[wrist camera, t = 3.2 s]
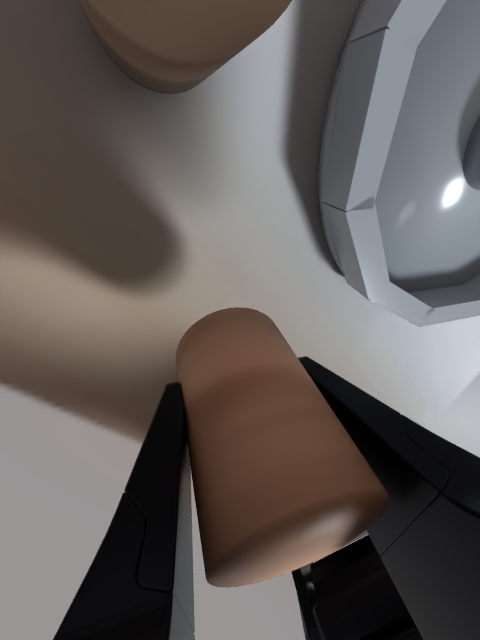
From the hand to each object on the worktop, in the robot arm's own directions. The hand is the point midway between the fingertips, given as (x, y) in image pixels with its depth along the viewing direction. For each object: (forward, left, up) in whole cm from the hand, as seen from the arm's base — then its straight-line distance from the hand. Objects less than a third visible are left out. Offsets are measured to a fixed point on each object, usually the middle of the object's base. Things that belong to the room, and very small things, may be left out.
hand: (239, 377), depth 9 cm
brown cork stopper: (0, 0, -1) cm, 1 cm away
